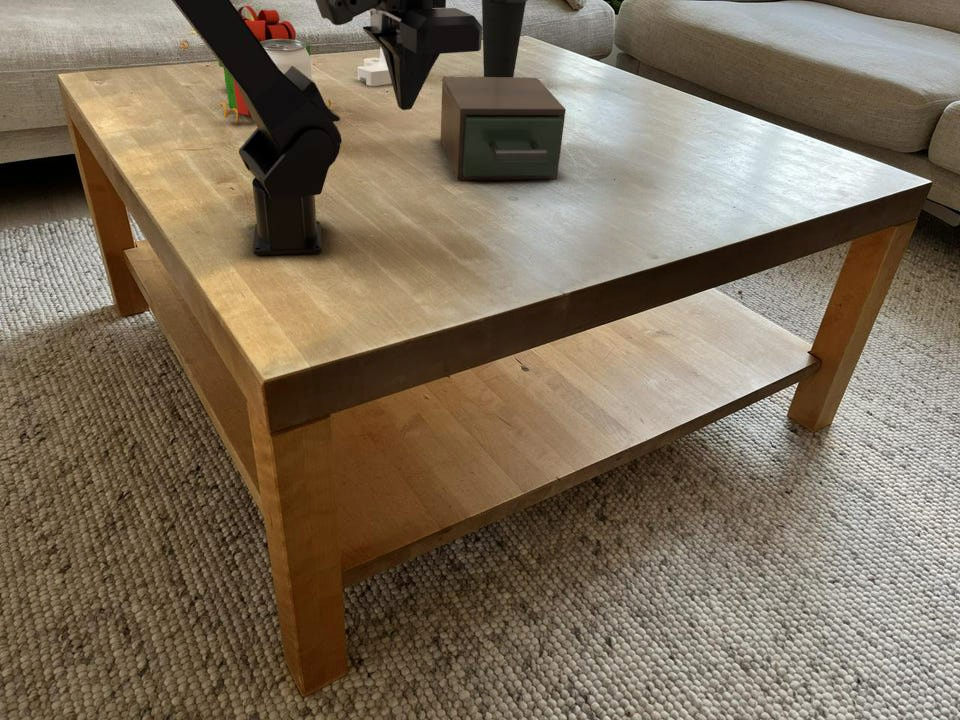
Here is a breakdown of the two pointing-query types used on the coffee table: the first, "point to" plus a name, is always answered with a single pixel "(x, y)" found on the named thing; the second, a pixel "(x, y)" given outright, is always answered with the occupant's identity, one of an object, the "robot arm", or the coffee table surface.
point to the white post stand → (375, 71)
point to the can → (289, 55)
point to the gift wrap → (263, 29)
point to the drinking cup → (501, 35)
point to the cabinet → (490, 111)
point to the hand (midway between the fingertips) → (404, 108)
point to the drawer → (511, 145)
